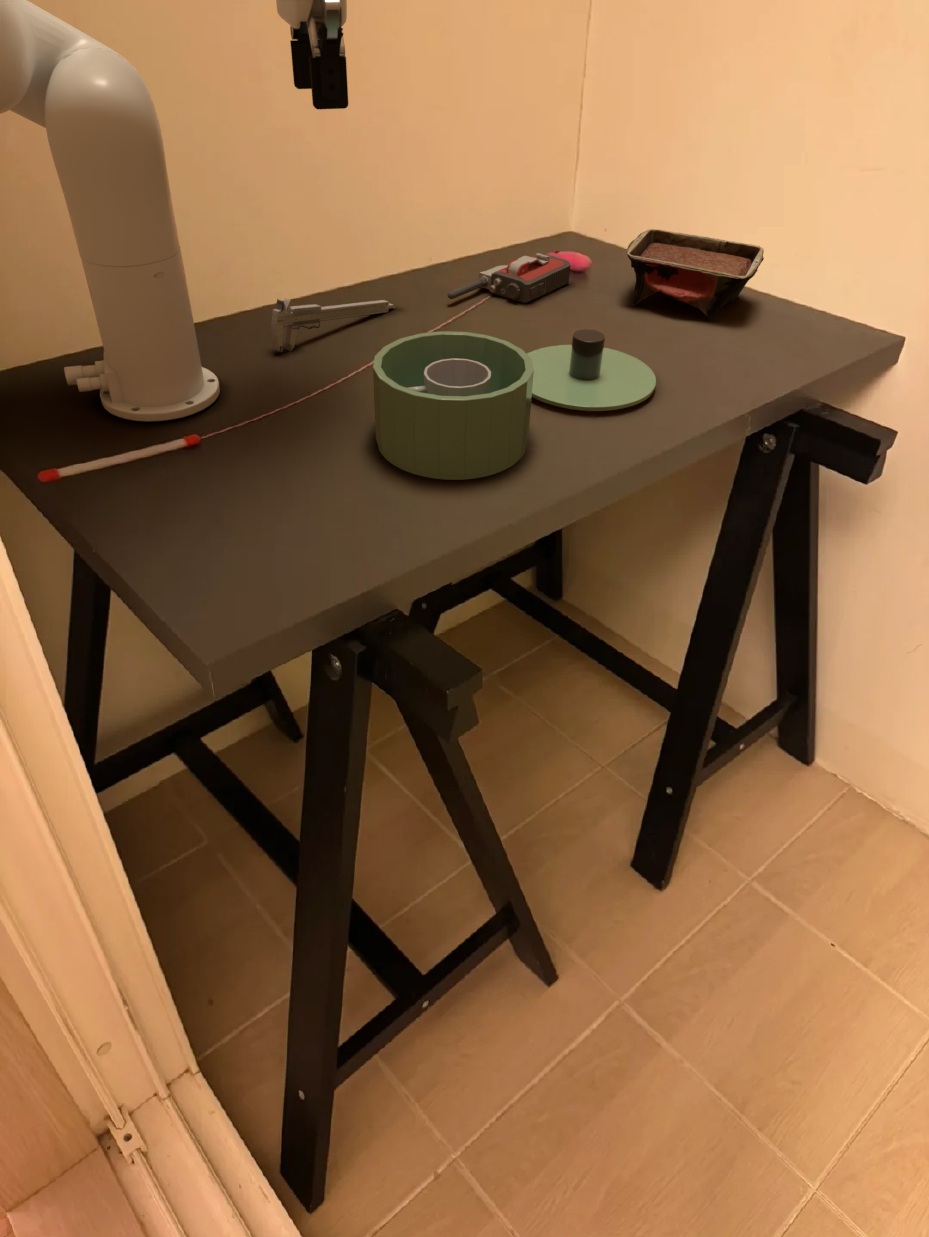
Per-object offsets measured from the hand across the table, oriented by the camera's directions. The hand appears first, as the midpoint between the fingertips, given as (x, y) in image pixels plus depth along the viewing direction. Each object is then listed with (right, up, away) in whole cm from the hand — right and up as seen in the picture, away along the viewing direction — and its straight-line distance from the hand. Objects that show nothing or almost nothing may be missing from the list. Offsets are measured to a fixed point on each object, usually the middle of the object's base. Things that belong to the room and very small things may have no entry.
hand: (320, 97), depth 83 cm
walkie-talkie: (+20, -4, +40) cm, 45 cm away
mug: (+12, -31, +7) cm, 34 cm away
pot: (+12, -31, +8) cm, 34 cm away
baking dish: (+45, -5, +40) cm, 60 cm away
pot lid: (+28, -22, +18) cm, 40 cm away
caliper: (-2, -13, +29) cm, 32 cm away
